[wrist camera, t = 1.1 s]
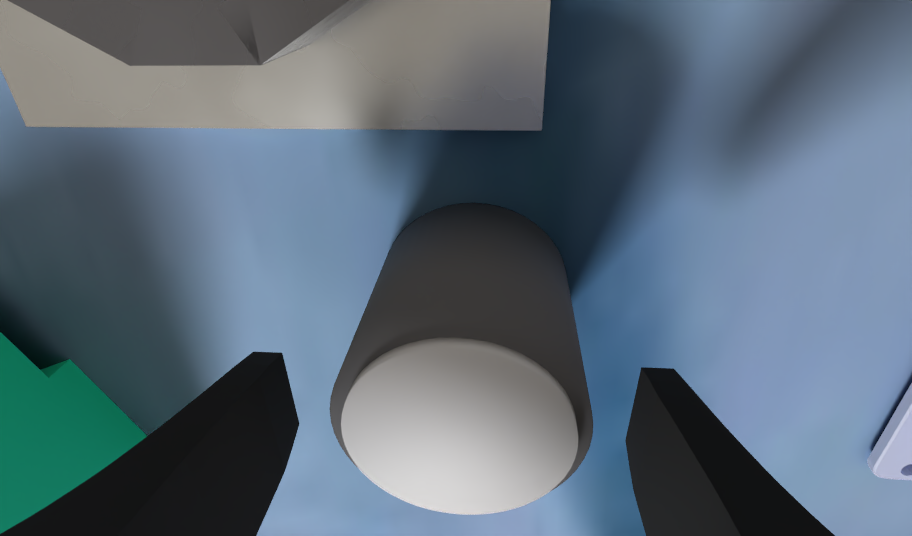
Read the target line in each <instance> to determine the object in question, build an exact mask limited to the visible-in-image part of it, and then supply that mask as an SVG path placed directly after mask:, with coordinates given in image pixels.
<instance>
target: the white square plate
mask: <svg viewBox="0 0 912 536" xmlns="http://www.w3.org/2000/svg"><path fill="white" fill-rule="evenodd" d="M550 3H551V0H0V68H1V70H2V72H3V75H4V77H5V79H6V82H7V84H8V86H9V88H10V91H11V93H12V95H13V97H14V100H15V102H16V104H17V106H18V109H19V111H20V113H21V116H22V118H23V120H24V122H25V125H26V127H130V128H260V129H390V130H520V131H542V120H543V106H544V91H545V76H546V62H547V47H548V32H549V18H550Z"/></svg>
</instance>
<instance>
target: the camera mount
mask: <svg viewBox="0 0 912 536" xmlns="http://www.w3.org/2000/svg"><path fill="white" fill-rule="evenodd" d="M146 437H147V435H146V434H145V433H144V432H143V431H142V430H141V429H140V428H139V427H138V426H137V425H136V424H135V423H134V422H133V421H132V420H131V419H130V418H129V417H128V416H127V415H126V414H125V413H124V412H123V411H122V410H121V409H120V408H119V407H118V406H117V405H116V404H115V403H114V402H113V401H112V400H111V399H110V398H109V397H108V396H107V395H106V394H105V393H104V392H102V391H101V390H100V389H99V388H98V387H97V386H96V385H95V384H94V383H93V382H92V381H91V380H90V379H89V378H88V377H87V376H86V375H85V374H84V373H83V372H82V371H81V370H80V369H79V368H78V367H77V366H76V365H75V364H74V363H73V362H72V361H71V360H70V359H68V360H66V361H63V362H60V363H58V364H55V365H52V366H49V367H47V368H44V369H41V370H40V369H39V368H38V367H37V366H36V365H34V364H33V363H32V362H31V361H30V360H29V359H28V358H27V357H26V356H25V355H24V354H23V353H22V352H21V351H20V350H19V349H18V348H17V347H16V346H15V345H13V344H12V343H11V342H10V341H9V340H8V339H7V338H6V337H5V336H4V335H3V334H2V333H1V332H0V534H1V533H3V532H4V531H6V530H8V529H10V528H11V527H13V526H15V525H16V524H18V523H20V522H22V521H23V520H25V519H27V518H28V517H30V516H32V515H33V514H35V513H37V512H38V511H40V510H42V509H43V508H45V507H46V506H48V505H49V504H51V503H53V502H54V501H56V500H57V499H59V498H60V497H62V496H63V495H65V494H66V493H68V492H70V491H71V490H73V489H74V488H76V487H77V486H79V485H80V484H82V483H83V482H85V481H86V480H88V479H89V478H91V477H92V476H94V475H95V474H97V473H98V472H99V471H101V470H102V469H104V468H105V467H107V466H108V465H109V464H111V463H112V462H114V461H115V460H116V459H118V458H119V457H120V456H122V455H123V454H124V453H126V452H127V451H128V450H130V449H131V448H132V447H134V446H135V445H136V444H138V443H139V442H140V441H142V440H143V439H144V438H146Z"/></svg>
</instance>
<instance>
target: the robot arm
mask: <svg viewBox="0 0 912 536" xmlns="http://www.w3.org/2000/svg"><path fill="white" fill-rule="evenodd" d="M298 426H299V421H298V417H297V412H296V408H295V404H294V400H293V396H292V392H291V388H290V384H289V379H288V375H287V371H286V367H285V363H284V359H283V355H282V353H271V352H253V353H251V354H250V355H249V356H247V357H246V358H245V359H243V360H242V361H241V362H240V363H238V364H237V365H236V366H235V367H234V368H232V369H231V370H230V371H229V372H227V373H226V374H225V375H224V376H223V377H221V378H220V379H219V380H218V381H216V382H215V383H214V384H213V385H212V386H210V387H209V388H208V389H207V390H206V391H204V392H203V393H202V394H201V395H199V396H198V397H197V398H196V399H194V400H193V401H192V402H191V403H189V404H188V405H187V406H186V407H184V408H183V409H182V410H181V411H179V412H178V413H177V414H176V415H175V416H173V417H172V418H171V419H170V420H168V421H167V422H166V423H164V424H163V425H162V426H161V427H159V428H158V429H157V430H155V431H154V432H153V433H151V434H150V435H148V436H147V437H146V438H144V439H143V440H142V441H140V442H139V443H138V444H136V445H135V446H134V447H132V448H131V449H130V450H128V451H127V452H126V453H124V454H123V455H122V456H120V457H119V458H118V459H116V460H115V461H114V462H112V463H111V464H109V465H108V466H107V467H105V468H104V469H102V470H101V471H99V472H98V473H97V474H95V475H94V476H92V477H91V478H89V479H88V480H86V481H85V482H83V483H82V484H80V485H79V486H77V487H76V488H74V489H73V490H71V491H70V492H68V493H66V494H65V495H63V496H62V497H60V498H59V499H57V500H56V501H54V502H53V503H51V504H49V505H48V506H46V507H45V508H43V509H42V510H40V511H38V512H37V513H35V514H33V515H32V516H30V517H28V518H27V519H25V520H23V521H22V522H20V523H18V524H16V525H15V526H13V527H11V528H10V529H8V530H6V531H4V532H3V533H1V534H0V536H256V535H257V532H258V530H259V528H260V526H261V523H262V521H263V519H264V517H265V515H266V512H267V510H268V508H269V506H270V503H271V501H272V499H273V497H274V494H275V492H276V490H277V488H278V485H279V483H280V481H281V479H282V476H283V474H284V472H285V469H286V466H287V463H288V459H289V456H290V453H291V450H292V447H293V443H294V440H295V437H296V433H297V430H298ZM626 447H627V453H628V460H629V466H630V472H631V478H632V484H633V489H634V494H635V497H636V501H637V505H638V508H639V512H640V515H641V519H642V522H643V526H644V529H645V533H646V536H835V535H834V534H832V533H831V532H830V531H829V530H828V529H827V528H826V527H825V526H823V525H822V524H821V523H820V522H819V521H818V520H817V519H816V518H815V517H814V516H812V515H811V514H810V513H809V512H808V511H807V510H806V509H805V508H804V507H803V506H802V505H801V504H800V503H799V502H798V501H797V500H796V499H795V498H794V497H793V496H792V495H791V494H789V493H788V492H787V491H786V490H785V489H784V488H783V487H782V486H781V485H780V484H779V483H778V482H777V481H776V480H775V479H774V478H773V477H772V476H771V475H770V474H769V473H768V472H767V471H766V470H765V469H764V468H763V467H762V466H761V465H760V463H759V462H758V461H757V460H756V459H755V458H754V457H753V456H752V455H751V454H750V453H749V452H748V451H747V450H746V449H745V448H744V447H743V445H742V444H741V443H740V442H739V441H738V440H737V439H736V438H735V437H734V436H733V435H732V434H731V433H730V431H729V430H728V429H727V428H726V427H725V426H724V425H723V424H722V423H721V422H720V420H719V419H718V418H717V417H716V416H715V415H714V414H713V413H712V411H711V410H710V409H709V408H708V407H707V406H706V405H705V403H704V402H703V401H702V400H701V399H700V398H699V397H698V395H697V394H696V393H695V392H694V391H693V390H692V389H691V387H690V386H689V385H688V384H687V383H686V382H685V381H684V380H683V378H682V377H681V376H680V375H679V374H678V373H677V372H676V371H675V370H674V369H667V368H642V367H641V372H640V377H639V381H638V386H637V390H636V395H635V399H634V404H633V409H632V413H631V418H630V422H629V427H628V431H627V436H626ZM867 464H868V466H869V467H870V469H871V470H872V472H873V473H874V474H875V475H876V476H878V477H880V478H886V479H900V480H912V383H911V385H910V387H909V388H908V390H907V392H906V393H905V395H904V397H903V399H902V400H901V402H900V404H899V406H898V407H897V409H896V411H895V412H894V414H893V416H892V418H891V419H890V421H889V423H888V425H887V426H886V428H885V430H884V431H883V433H882V435H881V437H880V438H879V440H878V442H877V444H876V445H875V447H874V449H873V450H872V452H871V454H870V456H869V457H868V460H867Z"/></svg>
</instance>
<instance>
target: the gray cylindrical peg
mask: <svg viewBox="0 0 912 536" xmlns="http://www.w3.org/2000/svg"><path fill="white" fill-rule="evenodd" d="M330 416H331V423H332V426H333V430H334V433H335V435H336V438H337V440H338V442H339V444H340V446H341V447H342V449H343V450H344V452H345V453H346V455H347V456H348V457H349V458H350V460H351V461H352V462H353V463H354V464H355V465H356V466H357V467H358V468H359V469H360V470H361V471H362V473H363V474H364V475H365V476H367V477H368V478H369V479H370V480H371V481H372V482H373V483H375V484H376V485H377V486H379V487H380V488H381V489H383V490H385V491H386V492H388V493H390V494H391V495H393V496H395V497H397V498H399V499H401V500H403V501H405V502H408V503H411V504H413V505H416V506H419V507H422V508H426V509H430V510H434V511H439V512H444V513H452V514H467V515H476V514H490V513H497V512H503V511H507V510H511V509H515V508H518V507H521V506H524V505H526V504H529V503H531V502H533V501H535V500H537V499H539V498H540V497H542V496H544V495H545V494H547V493H548V492H550V491H551V490H553V489H555V488H556V487H558V486H559V485H560V484H562V483H563V482H564V481H566V480H567V479H568V478H569V477H570V476H571V475H572V474H573V473H574V472H575V471H576V470H577V468H578V467H579V465H580V464H581V463H582V461H583V460H584V458H585V456H586V454H587V451H588V449H589V447H590V443H591V439H592V433H593V418H592V410H591V405H590V399H589V394H588V388H587V383H586V378H585V372H584V367H583V361H582V356H581V351H580V345H579V340H578V334H577V329H576V324H575V318H574V313H573V307H572V302H571V296H570V291H569V286H568V280H567V275H566V270H565V266H564V263H563V259H562V257H561V255H560V253H559V251H558V249H557V247H556V246H555V244H554V243H553V241H552V240H551V239H550V237H549V236H548V235H547V234H546V233H545V232H544V231H543V230H542V229H541V228H540V227H538V226H537V225H536V224H535V223H534V222H532V221H530V220H529V219H527V218H526V217H524V216H522V215H520V214H518V213H516V212H514V211H512V210H509V209H506V208H503V207H500V206H495V205H490V204H482V203H460V204H454V205H448V206H445V207H442V208H438V209H435V210H433V211H431V212H428V213H426V214H424V215H423V216H421V217H419V218H418V219H416V220H414V221H413V222H412V223H411V224H410V225H408V226H407V227H406V228H405V229H404V230H403V231H402V232H401V233H400V235H399V236H398V237H397V239H396V240H395V242H394V243H393V245H392V246H391V249H390V251H389V253H388V255H387V258H386V260H385V262H384V265H383V267H382V270H381V272H380V275H379V277H378V279H377V282H376V284H375V287H374V289H373V292H372V294H371V296H370V299H369V301H368V304H367V306H366V309H365V311H364V314H363V316H362V318H361V321H360V323H359V326H358V328H357V331H356V333H355V335H354V338H353V340H352V343H351V345H350V348H349V350H348V352H347V355H346V357H345V360H344V362H343V365H342V367H341V370H340V372H339V374H338V377H337V379H336V382H335V384H334V387H333V391H332V395H331V401H330Z"/></svg>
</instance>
